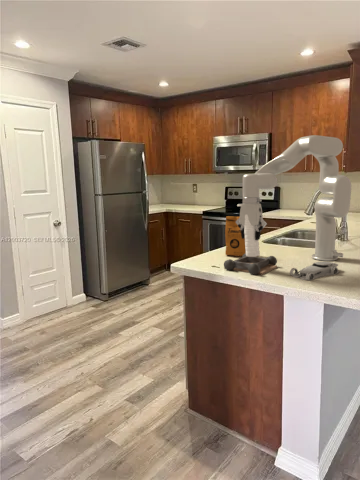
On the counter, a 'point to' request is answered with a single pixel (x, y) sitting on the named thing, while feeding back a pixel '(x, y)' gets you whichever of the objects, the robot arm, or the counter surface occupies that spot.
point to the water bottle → (250, 239)
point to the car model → (315, 270)
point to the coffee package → (234, 238)
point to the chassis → (251, 264)
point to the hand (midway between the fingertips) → (250, 238)
